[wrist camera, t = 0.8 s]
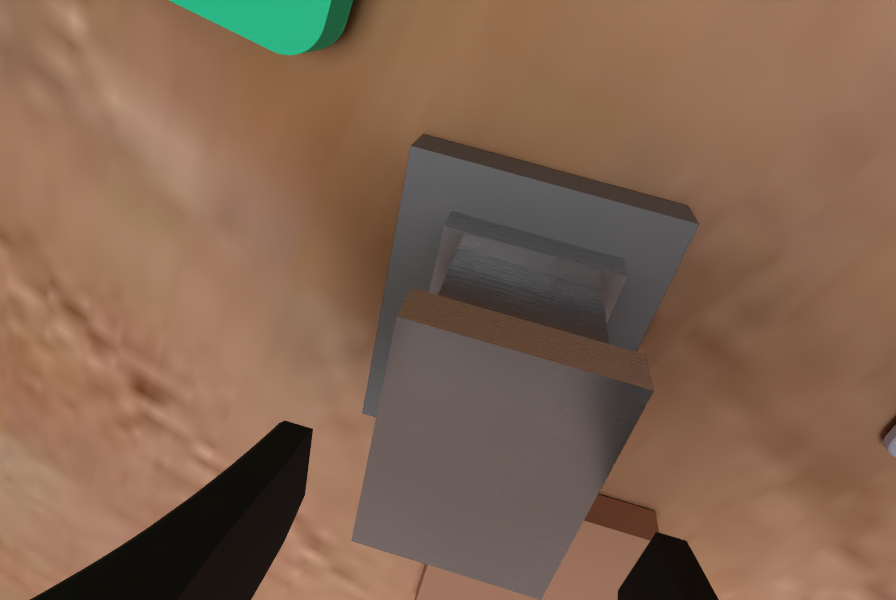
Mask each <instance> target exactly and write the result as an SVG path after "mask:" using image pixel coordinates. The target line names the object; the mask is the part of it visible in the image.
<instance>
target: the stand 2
mask: <svg viewBox="0 0 896 600" xmlns="http://www.w3.org/2000/svg"><path fill="white" fill-rule="evenodd" d="M656 532H658V533H659V530H658V525H657V519H656V514H655V511H652V510H649V509H645V508H642V507H639V506H635V505H632V504H629V503H625V502H622V501H619V500H615V499H612V498H609V497H605V496H602V495H599V494H598V495H597V497H596V499H595V501H594V503H593V504H592V506H591V508H590V510H589V512H588V514H587V516H586V517H585V519H584V521H583V523H582V525H581V527H580V529H579V530H578V532H577V534H576V536H575V538H574V540H573V542H572V543H571V545H570V547H569V549H568V551H567V553H566V555H565V556H564V558H563V560H562V562H561V564H560V566H559V568H558V569H557V571H556V573H555V575H554V577H553V579H552V581H551V582H550V584H549V586H548V588H547V590H546V592H545V594H544V595H543V597H542V599H541V600H618V589H619V588H620V586H621V585H622V583H623V582H624V580H625V579H626V577H627V576H628V574H629V573H630V571H631V570H632V568H633V567H634V565H635V563H636V562H637V560H638V559H639V557H640V556H641V554H642V553H643V551H644V550H645V548H646V547H647V545H648V544H649V542H650V541H651V539H652V538H653V536H654V535H655V533H656ZM415 600H539V599H536V598H533V597H529V596H526V595H523V594H520V593H517V592H513V591H510V590H507V589H504V588H501V587H497V586H494V585H491V584H488V583H485V582H481V581H478V580H475V579H472V578H469V577H465V576H462V575H459V574H456V573H453V572H449V571H446V570H443V569H440V568H437V567H433V566H430V565H427V564H425V567H424V570H423V573H422V576H421V579H420V583H419V586H418V589H417V592H416V596H415Z"/></svg>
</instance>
